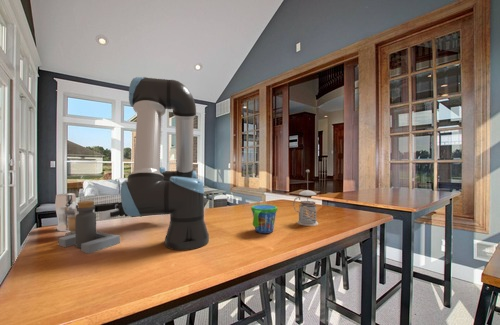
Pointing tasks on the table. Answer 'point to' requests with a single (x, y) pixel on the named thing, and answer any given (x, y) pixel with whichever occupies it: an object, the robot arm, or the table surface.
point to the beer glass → (64, 209)
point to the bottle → (85, 223)
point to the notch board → (91, 242)
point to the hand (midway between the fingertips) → (87, 214)
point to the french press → (307, 208)
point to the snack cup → (264, 218)
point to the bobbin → (71, 221)
